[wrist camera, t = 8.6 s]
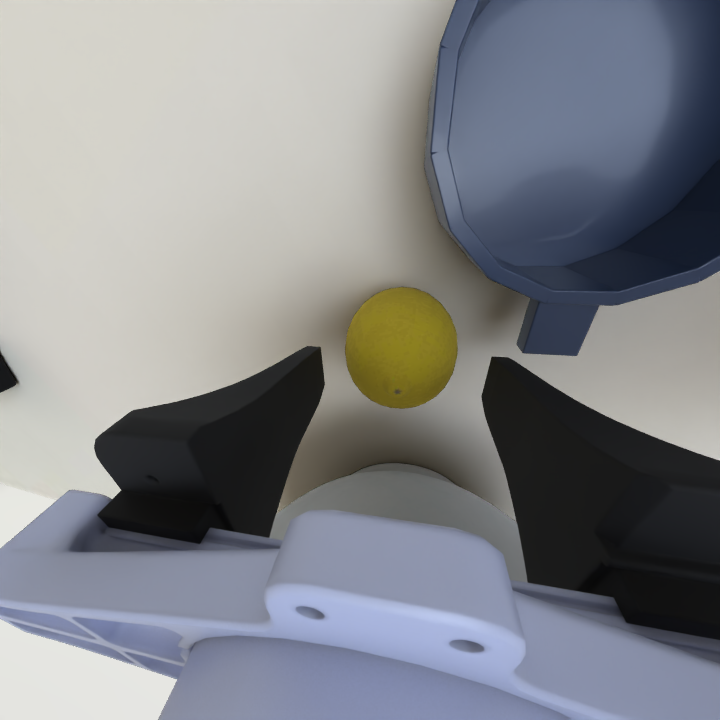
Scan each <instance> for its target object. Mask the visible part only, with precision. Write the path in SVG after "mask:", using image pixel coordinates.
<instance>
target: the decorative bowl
mask: <svg viewBox="0 0 720 720" xmlns="http://www.w3.org/2000/svg"><path fill="white" fill-rule="evenodd" d="M309 510H338V511H345V512H352V513H358V514H365V515H372V516H378V517H385V518H392V519H398V520H405V521H412V522H418V523H425V524H432V525H438V526H445V527H452V528H456V529H460V530H463V531H466V532H470V533H473V534H476V535H479V536H481V537H483V538H484V539H485V540H486V541H488V542H489V543H490V544H491V545H493V546H494V547H495V548H496V549H498V550H499V551H500V552H501V553H503V555H504V559H505V563H506V567H507V571H508V575H509V578H510V580H515V581H521V582H527V583H528V581H527V575H526V569H525V563H524V557H523V552H522V547H521V541H520V536H519V531H518V526H517V523H516V522H515V521H514V520H513V519H511V518H510V517H509V516H507V515H506V514H505V513H503V512H502V511H500V510H499V509H498V508H496V507H495V506H493V505H492V504H490V503H488V502H487V501H485V500H484V499H482V498H480V497H479V496H477V495H475V494H473V493H471V492H469V491H467V490H465V489H463V488H461V487H459V486H456V485H455V484H454V483H452V482H451V481H450V480H449V479H447V478H446V477H444V476H442V475H440V474H439V473H436V472H434V471H432V470H429V469H426V468H423V467H419V466H415V465H410V464H401V463H385V464H377V465H373V466H369V467H366V468H363V469H361V470H359V471H357V472H355V473H354V474H352V475H349V476H345V477H342V478H339V479H336V480H333V481H330V482H328V483H326V484H323V485H321V486H319V487H317V488H315V489H313V490H311V491H310V492H308V493H306V494H304V495H303V496H301V497H299V498H298V499H296V500H295V501H293V502H292V503H291V504H289V505H288V506H287V507H285V508H284V509H282V510H281V511H280V512H279V513H277V514H276V516H275V519H274V522H273V526H272V530H271V533H270V537H269V538H273V539H278V540H283V539H284V536H285V534H286V531H287V528H288V526H289V523H290V520H291V519H293V518H295V517H297V516H299V515H301V514H303V513H305V512H307V511H309Z"/></svg>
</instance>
